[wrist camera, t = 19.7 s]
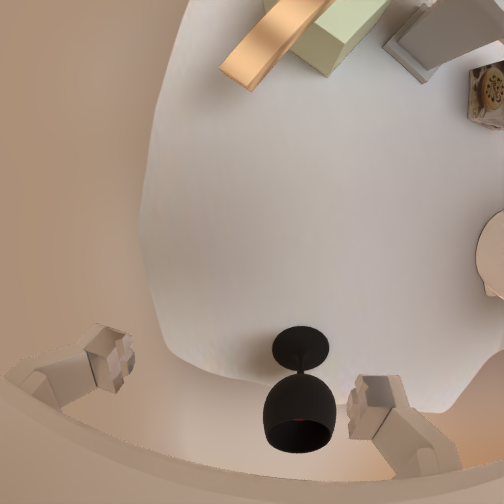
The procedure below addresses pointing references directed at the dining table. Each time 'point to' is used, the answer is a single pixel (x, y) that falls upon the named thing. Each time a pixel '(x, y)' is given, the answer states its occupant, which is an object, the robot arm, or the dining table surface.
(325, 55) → the box
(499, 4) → the tower
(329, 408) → the wine glass
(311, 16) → the catapult arm
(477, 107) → the coffee box
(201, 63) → the dining table surface
